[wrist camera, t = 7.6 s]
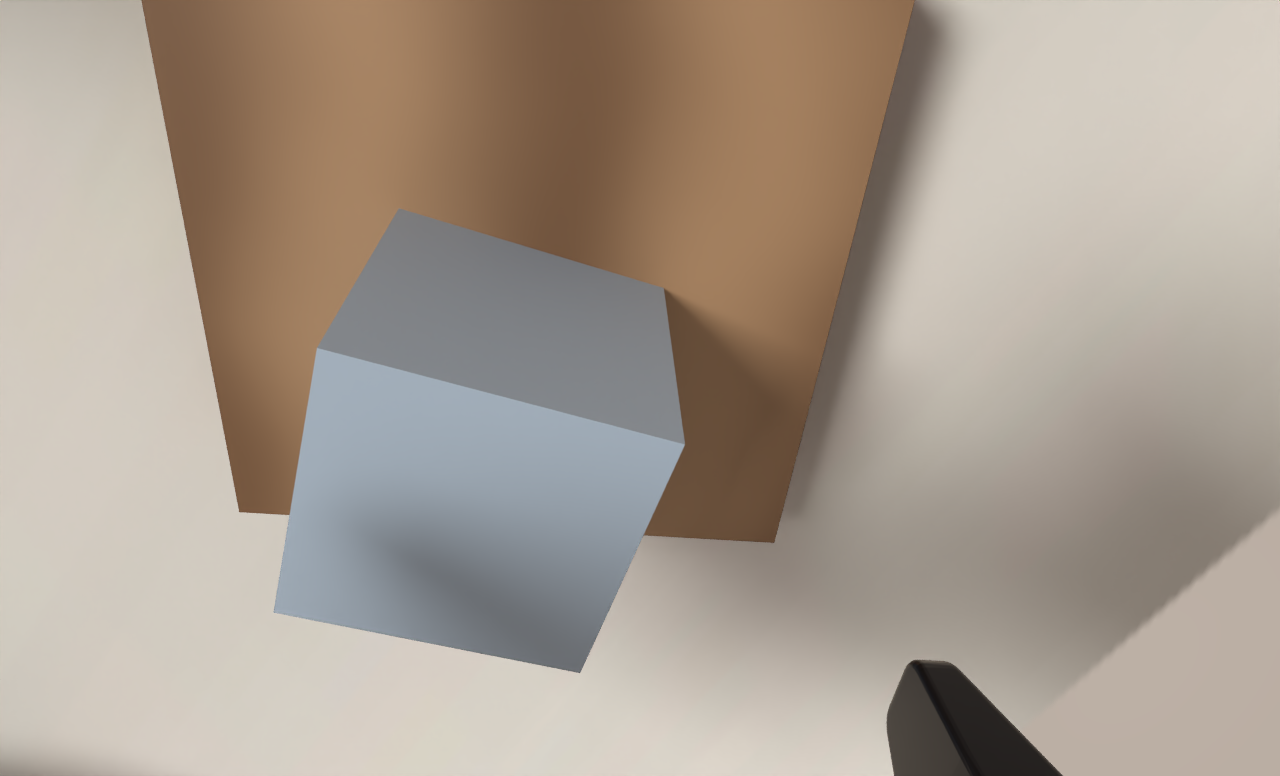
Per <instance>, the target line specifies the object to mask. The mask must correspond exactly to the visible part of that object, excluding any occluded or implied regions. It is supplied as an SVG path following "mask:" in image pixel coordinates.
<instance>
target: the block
mask: <svg viewBox="0 0 1280 776" xmlns="http://www.w3.org/2000/svg"><path fill="white" fill-rule="evenodd" d="M684 446H685V441H684V433H683V426H682V419H681V411H680V404H679V396H678V389H677V382H676V374H675V367H674V360H673V352H672V345H671V338H670V330H669V323H668V315H667V308H666V301H665V293H664V288H662V287H659V286H655V285H652V284H649V283H645V282H642V281H639V280H635V279H632V278H629V277H625V276H622V275H619V274H615V273H612V272H609V271H605V270H602V269H599V268H595V267H592V266H589V265H586V264H582V263H579V262H576V261H572V260H569V259H566V258H562V257H559V256H556V255H552V254H549V253H546V252H542V251H539V250H536V249H532V248H529V247H526V246H523V245H519V244H516V243H513V242H509V241H506V240H503V239H499V238H496V237H493V236H489V235H486V234H483V233H479V232H476V231H473V230H469V229H466V228H463V227H460V226H456V225H453V224H450V223H446V222H443V221H440V220H436V219H433V218H430V217H426V216H423V215H420V214H416V213H413V212H410V211H406V210H403V209H400V208H399V209H398V211H397V212H396V214H395V216H394V218H393V219H392V221H391V223H390V224H389V226H388V228H387V229H386V231H385V233H384V235H383V236H382V238H381V240H380V241H379V243H378V245H377V247H376V248H375V250H374V252H373V253H372V255H371V257H370V258H369V260H368V262H367V264H366V265H365V267H364V269H363V270H362V272H361V274H360V275H359V277H358V279H357V281H356V282H355V284H354V286H353V287H352V289H351V291H350V293H349V294H348V296H347V298H346V299H345V301H344V303H343V304H342V306H341V308H340V310H339V311H338V313H337V315H336V316H335V318H334V320H333V321H332V323H331V325H330V327H329V328H328V330H327V332H326V333H325V335H324V337H323V339H322V340H321V342H320V344H319V345H318V347H317V351H316V357H315V363H314V369H313V375H312V381H311V387H310V393H309V400H308V406H307V412H306V418H305V424H304V430H303V436H302V442H301V448H300V455H299V461H298V467H297V473H296V479H295V485H294V491H293V497H292V503H291V510H290V516H289V522H288V528H287V534H286V540H285V546H284V552H283V558H282V565H281V571H280V577H279V583H278V589H277V595H276V601H275V607H274V613H279V614H284V615H289V616H294V617H299V618H304V619H309V620H314V621H319V622H324V623H330V624H335V625H340V626H345V627H350V628H355V629H360V630H365V631H370V632H375V633H380V634H385V635H390V636H395V637H400V638H405V639H411V640H416V641H421V642H426V643H431V644H436V645H441V646H446V647H451V648H456V649H461V650H466V651H471V652H476V653H481V654H486V655H492V656H497V657H502V658H507V659H512V660H517V661H522V662H527V663H532V664H537V665H542V666H547V667H552V668H557V669H562V670H567V671H573V672H578V673H580V672H581V670H582V668H583V666H584V663H585V661H586V659H587V657H588V655H589V652H590V650H591V648H592V646H593V644H594V642H595V639H596V637H597V635H598V633H599V631H600V629H601V626H602V624H603V622H604V620H605V618H606V615H607V613H608V611H609V609H610V607H611V605H612V602H613V600H614V598H615V596H616V594H617V592H618V589H619V587H620V585H621V583H622V581H623V578H624V576H625V574H626V572H627V570H628V568H629V565H630V563H631V561H632V559H633V557H634V555H635V552H636V550H637V548H638V546H639V544H640V541H641V539H642V537H643V535H644V533H645V531H646V528H647V526H648V524H649V522H650V520H651V518H652V515H653V513H654V511H655V509H656V507H657V504H658V502H659V500H660V498H661V496H662V494H663V491H664V489H665V487H666V485H667V483H668V481H669V478H670V476H671V474H672V472H673V470H674V467H675V465H676V463H677V461H678V459H679V457H680V454H681V452H682V450H683V448H684Z"/></svg>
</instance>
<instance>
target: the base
mask: <svg viewBox="0 0 1280 776" xmlns="http://www.w3.org/2000/svg"><path fill="white" fill-rule="evenodd" d="M914 1H915V0H142V5H143V11H144V16H145V21H146V26H147V32H148V37H149V42H150V47H151V52H152V58H153V63H154V68H155V73H156V79H157V84H158V89H159V94H160V100H161V105H162V110H163V115H164V120H165V126H166V131H167V136H168V141H169V147H170V152H171V157H172V162H173V168H174V173H175V178H176V183H177V188H178V194H179V199H180V204H181V209H182V215H183V220H184V225H185V230H186V236H187V241H188V246H189V251H190V256H191V262H192V267H193V272H194V277H195V283H196V288H197V293H198V298H199V303H200V309H201V314H202V319H203V324H204V330H205V335H206V340H207V345H208V351H209V356H210V361H211V366H212V371H213V377H214V382H215V387H216V392H217V398H218V403H219V408H220V413H221V419H222V424H223V429H224V434H225V439H226V445H227V450H228V455H229V460H230V466H231V471H232V476H233V481H234V487H235V492H236V497H237V502H238V507H239V512H247V513H265V514H282V515H290V510H291V503H292V497H293V491H294V485H295V479H296V473H297V467H298V461H299V455H300V448H301V442H302V436H303V430H304V424H305V418H306V412H307V406H308V400H309V393H310V387H311V381H312V375H313V369H314V363H315V357H316V351H317V347H318V345H319V344H320V342H321V340H322V339H323V337H324V335H325V333H326V332H327V330H328V328H329V327H330V325H331V323H332V321H333V320H334V318H335V316H336V315H337V313H338V311H339V310H340V308H341V306H342V304H343V303H344V301H345V299H346V298H347V296H348V294H349V293H350V291H351V289H352V287H353V286H354V284H355V282H356V281H357V279H358V277H359V275H360V274H361V272H362V270H363V269H364V267H365V265H366V264H367V262H368V260H369V258H370V257H371V255H372V253H373V252H374V250H375V248H376V247H377V245H378V243H379V241H380V240H381V238H382V236H383V235H384V233H385V231H386V229H387V228H388V226H389V224H390V223H391V221H392V219H393V218H394V216H395V214H396V212H397V211H398V209H399V208H400V209H403V210H406V211H410V212H413V213H416V214H420V215H423V216H426V217H430V218H433V219H436V220H440V221H443V222H446V223H450V224H453V225H456V226H460V227H463V228H466V229H469V230H473V231H476V232H479V233H483V234H486V235H489V236H493V237H496V238H499V239H503V240H506V241H509V242H513V243H516V244H519V245H523V246H526V247H529V248H532V249H536V250H539V251H542V252H546V253H549V254H552V255H556V256H559V257H562V258H566V259H569V260H572V261H576V262H579V263H582V264H586V265H589V266H592V267H595V268H599V269H602V270H605V271H609V272H612V273H615V274H619V275H622V276H625V277H629V278H632V279H635V280H639V281H642V282H645V283H649V284H652V285H655V286H659V287H662V288H664V293H665V301H666V308H667V315H668V323H669V330H670V338H671V345H672V352H673V360H674V367H675V374H676V382H677V389H678V396H679V404H680V411H681V419H682V426H683V433H684V441H685V446H684V448H683V450H682V452H681V454H680V457H679V459H678V461H677V463H676V465H675V467H674V470H673V472H672V474H671V476H670V478H669V481H668V483H667V485H666V487H665V489H664V491H663V494H662V496H661V498H660V500H659V502H658V504H657V507H656V509H655V511H654V513H653V515H652V518H651V520H650V522H649V524H648V526H647V528H646V531H645V533H644V535H648V536H666V537H683V538H701V539H718V540H736V541H753V542H770V543H774V542H775V538H776V534H777V530H778V526H779V522H780V518H781V515H782V511H783V507H784V503H785V499H786V495H787V491H788V488H789V484H790V480H791V476H792V472H793V468H794V464H795V461H796V457H797V453H798V449H799V445H800V441H801V437H802V433H803V430H804V426H805V422H806V418H807V414H808V410H809V406H810V403H811V399H812V395H813V391H814V387H815V383H816V379H817V376H818V372H819V368H820V364H821V360H822V356H823V352H824V349H825V345H826V341H827V337H828V333H829V329H830V325H831V322H832V318H833V314H834V310H835V306H836V302H837V298H838V295H839V291H840V287H841V283H842V279H843V275H844V271H845V268H846V264H847V260H848V256H849V252H850V248H851V244H852V241H853V237H854V233H855V229H856V225H857V221H858V217H859V213H860V210H861V206H862V202H863V198H864V194H865V190H866V186H867V183H868V179H869V175H870V171H871V167H872V163H873V159H874V156H875V152H876V148H877V144H878V140H879V136H880V132H881V129H882V125H883V121H884V117H885V113H886V109H887V105H888V102H889V98H890V94H891V90H892V86H893V82H894V78H895V75H896V71H897V67H898V63H899V59H900V55H901V51H902V48H903V44H904V40H905V36H906V32H907V28H908V24H909V20H910V17H911V13H912V9H913V5H914Z"/></svg>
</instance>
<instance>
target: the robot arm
mask: <svg viewBox="0 0 1280 776" xmlns="http://www.w3.org/2000/svg"><path fill="white" fill-rule="evenodd" d="M887 735H888V741H889V747H890V753H891V759H892V765H893V772H894V776H1062V774H1061V773H1060V772H1059V771H1057V769H1056V768H1055V767H1054V766H1053V765H1052V764H1051V763H1050V762H1049V761H1048V760H1047V759H1046V758H1045V757H1044V756H1043V755H1042V754H1041V753H1040V752H1039V751H1038V750H1037V749H1036V748H1035V747H1034V746H1033V745H1032V744H1031V743H1030V742H1029V741H1028V740H1027V739H1026V738H1025V736H1024V735H1023V734H1022V733H1021V732H1020V731H1019V730H1018V729H1017V728H1016V727H1015V726H1014V725H1013V724H1012V723H1011V722H1010V721H1009V720H1008V719H1007V718H1006V717H1005V716H1004V715H1003V714H1002V713H1001V712H1000V711H999V710H998V709H997V708H996V707H995V706H994V705H993V704H992V703H991V702H990V701H989V700H988V699H987V697H986V696H985V695H984V694H983V693H982V692H981V691H980V690H979V689H978V688H977V687H976V686H975V685H974V684H973V683H972V682H971V681H970V680H969V679H968V678H967V677H966V676H965V675H964V674H963V673H962V672H961V671H960V670H959V669H958V668H957V667H956V666H954V665H953V664H951V663H949V662H945V661H932V660H913V661H912V662H910V663H909V664H908V665H907V667H906V668H905V670H904V673H903V675H902V678H901V680H900V682H899V685H898V687H897V690H896V692H895V694H894V697H893V699H892V701H891V704H890V706H889V709H888V714H887Z"/></svg>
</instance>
